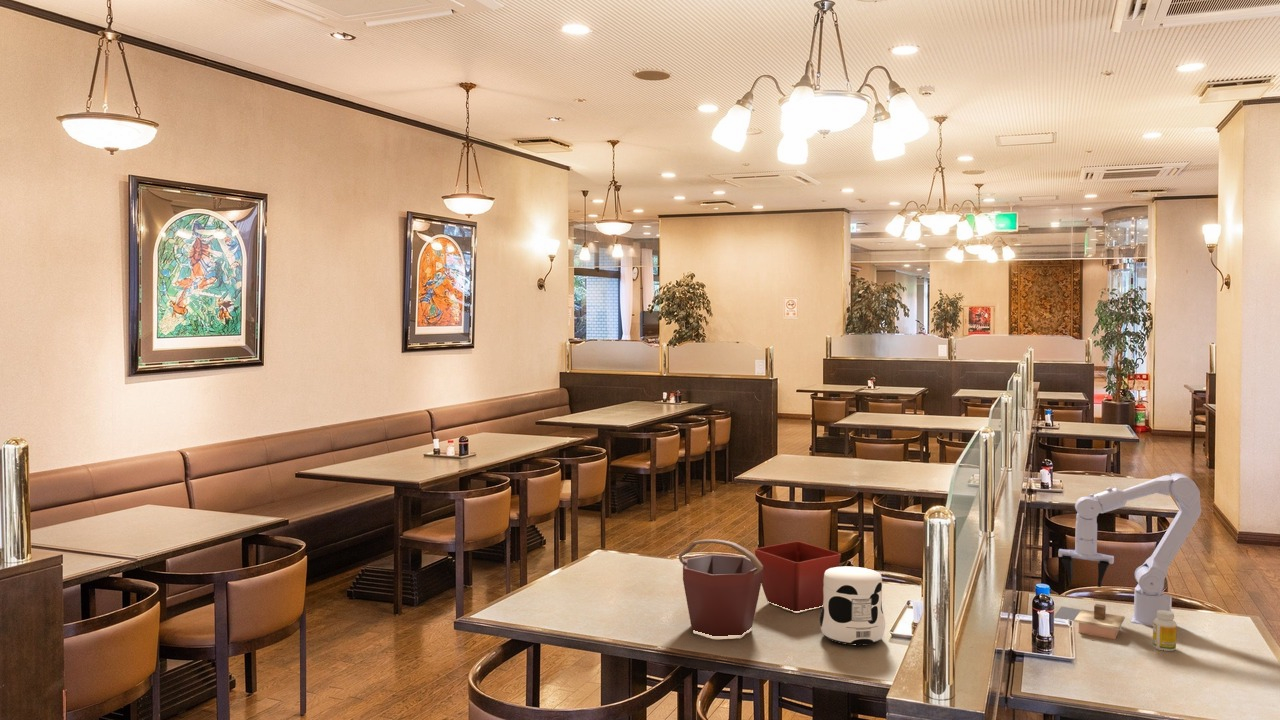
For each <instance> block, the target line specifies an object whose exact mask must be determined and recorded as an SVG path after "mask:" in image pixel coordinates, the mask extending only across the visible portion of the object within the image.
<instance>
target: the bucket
mask: <svg viewBox="0 0 1280 720" xmlns="http://www.w3.org/2000/svg"><path fill="white" fill-rule="evenodd" d="M702 544H717V545H723V546H727V547H731V548H732V549H734V550H735V551H737V552H739V553H741V554H742V555H744V556H742V555H741V556H740V555H730V554H729V555H727V554H715V553H714V554H713V553H711V554H706V555H705V554H704V555H699V556H695V557H688V558H684V557H683V556H685V555H687V554H688V553H690V552H691V551H692V550H693V549H694V548H695V547H696V546H697V545H702ZM677 556H678V560H679V562H680V563H681V564H682V565H683V566H682V582H683V588H684V593H685V594H684V595H685V598H686V604H687V610H688V615H689V621H690V627H691V631H692V630H695V631H698V632H702V633H705V634H709V635H712V636H728V635H742V634H743V633H744V632H746V631H747V630H749V629H750V628H751V627H752V628H753V624H754V620H755V615H756V610H757V605H758V600H759V596H760V590H761V587H762V584H761V582H762V577H763V565H762V564H761V562H760V561H759V560H758V558H757V557H756V556H755V553H752V552H751V551H750V550H748V549H747V548H745V547H743V546H742V545H740V544H738V543H736V542H733V541H729V540H723V539H712V538H710V539H699V540H695V541H691V543H690V544H689V545H688V546H687V547H686V548H684V550H681V551H680V552H679V553H678V554H677Z"/></svg>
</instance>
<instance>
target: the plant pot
mask: <svg viewBox="0 0 1280 720" xmlns="http://www.w3.org/2000/svg"><path fill="white" fill-rule="evenodd" d="M754 555H755V556H756V557H757V558H758V560H759V561H760V562H761V564H762V565H763V577H762V582H761V587H762V590H763V593H764V596H765V599H766V600H767V602H768V601H769V602H771V603H774V604H777V605H779V606H782V607H785V608H788V609H790V610H793V611H800V610H805V609H809V608H814V607H819V606H822V605H823V601H824V594H823V587H824V574H825V571H826V570H827V569H830V568H834V567H840V562H841V557H842V553H841V552H840V553H839V552H837V551H833V550H831V549H826V548H823V547H820V546H817V545H814V544H810V543H807V542H803V541H798V540H797V541H795V540H794V541H791V542H786V543H785V542H784V543H780V544H779V543H778V544H774V545H767V546H762V547H756V548H754Z"/></svg>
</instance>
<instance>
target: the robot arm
mask: <svg viewBox="0 0 1280 720" xmlns="http://www.w3.org/2000/svg"><path fill="white" fill-rule="evenodd" d="M1105 489H1106V490H1104V491H1100V492H1098V493H1096V494H1094V493H1090V494H1089V496H1082V497H1079V498H1077V500H1076V502H1075V503H1074V509H1075V511H1076V512H1077V513H1076V516H1075V519H1076V521H1075V532H1074V533H1075V538H1074V539H1075V540H1074V541H1075V542H1074V543H1075V545H1074V546H1075V547H1074V549H1065V548H1064V549H1063V548H1059V549H1058V551H1057V552H1058V556H1057V557H1059V558H1061V562H1062V564H1063V566H1064V568H1065V570H1066V571H1065V572H1066V574H1067V579H1068V583H1071V584H1072V583H1073V582H1074V571H1073V569H1074V559H1077V560H1085V561H1092V562H1098V563H1097V569H1098V571H1097V572H1098V576H1097V587H1098V588H1102V585H1103V579H1104V576H1105V574H1106V571H1107V569H1108V567H1109V566H1110V565H1113V564H1114V562H1115V556H1114V555H1109V554H1104V553H1099V552H1097V551H1098V522H1097V519H1098V516H1099V514H1104V513H1108V512H1111V511H1115V510H1117V509H1118V510H1119V509H1121V508H1123V507H1125V506H1126V505H1127V504H1126V503H1127V502H1128V501H1132V500H1136V499H1139V498H1143V497H1146V496H1151V495H1155V494H1159V495H1160V494H1161V495H1164V496H1167V497H1168V496H1169V497H1170V496H1171V495H1172V496H1173V497H1174V499H1175V501H1176V502H1175V503H1176V504H1177V507H1178V509H1179V510H1178V511H1177V513H1176V514H1175V516H1174V518H1173V519H1172V521H1171V523H1170V524H1169V526H1168V528H1167V529H1166V532H1165V533H1164V535H1163V536H1162V538H1161V540H1160V541H1159V543H1158V544H1157V545H1156V547H1155V549H1154V551H1153V553H1152V554H1151V555H1150V556H1149V557H1148V558H1147V559H1145V561H1144V563H1142V565H1140V566H1138V567H1137V568H1136V569H1135V570H1134V578H1135V581H1136V582H1137V585H1136V586H1135V587H1134V595H1133V596H1134V597H1133V598H1134V599H1133V600H1134V601H1133V605H1134V606H1133V616H1132V617H1131V620H1130V623H1133V624H1137V625H1138V624H1140V625H1145V626H1150V627H1153V621H1154V619H1156V618H1158V617H1157V611H1158V610H1165V611H1170V612H1172V604H1173V603H1172V602H1173V601H1172V600H1173V599H1172V595H1170V594H1168V593H1167V594H1166V593H1164V591H1163V590H1164V587H1165V580H1166V577H1167V575H1168V573H1169V567H1170V565H1171V563H1172V562H1173V560H1174V559H1175V557H1176V555H1177V553H1178V552H1179V551H1180V549H1181V547H1182V546H1183V544H1184V543H1185V541H1186V539H1187V537H1188V536H1189V535H1190V533H1191V531H1192V529H1193V528H1194V526H1195V524H1196V523H1197V522H1198V519H1199V518H1200V516H1201V514H1202V507H1201V506H1202V505H1201V497H1200V495H1201V491H1200V489H1199V487H1198V486H1197V484H1196V483H1195V481H1194V480H1193V479H1191V478H1189V476H1188V475H1186V474H1184V473H1181V472H1174V473H1173V472H1172V473H1171V474H1170V475H1169V474H1165V475H1162V476H1158V477H1156V478H1153V479H1150V480H1146V481H1144V482H1141V483H1139V484H1136V485H1134V486H1130V487H1127V488H1125V489H1120V488H1117V487H1113V488H1112V487H1106V488H1105Z"/></svg>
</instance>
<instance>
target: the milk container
mask: <svg viewBox="0 0 1280 720" xmlns="http://www.w3.org/2000/svg"><path fill="white" fill-rule="evenodd" d="M882 578H883V577H882V574H881V573H880V572H878V571H876V570H873V569H869V568H866V567H859V566H848V565H847V566H846V565H845V566H839V567H834V568H830V569H827V570H826V571H825V574H824V587H823V594H824V601H823V607H822V608H821V611H820V614H819V626H820V631H821V632H822V635H824V637H825V638H826V639H828V638H829V639H828V640H830V641H832V640H833V641H832V642H835V641H836V643H838V642H840V643H839V644H841V643H846V644H845V645H847V644H856V645H855V646H864V645H863V644H869V645H872V643H873V644H876V643H878V642H879V641H881V640H882V638H884V635H885V630H886V620H885V614H884V611H883V605H882V604H883V579H882ZM875 642H876V643H875Z"/></svg>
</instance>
